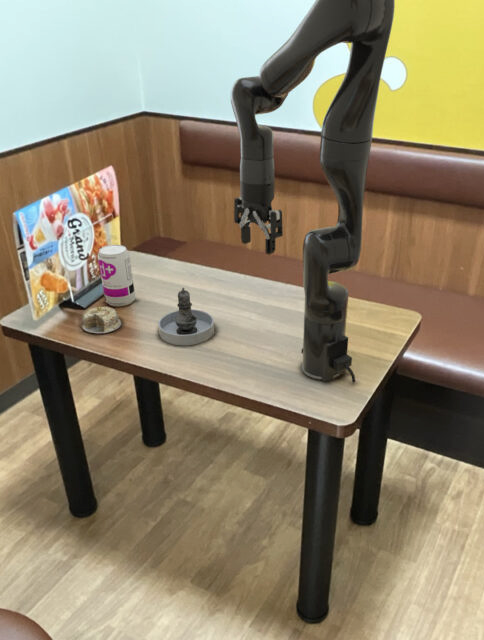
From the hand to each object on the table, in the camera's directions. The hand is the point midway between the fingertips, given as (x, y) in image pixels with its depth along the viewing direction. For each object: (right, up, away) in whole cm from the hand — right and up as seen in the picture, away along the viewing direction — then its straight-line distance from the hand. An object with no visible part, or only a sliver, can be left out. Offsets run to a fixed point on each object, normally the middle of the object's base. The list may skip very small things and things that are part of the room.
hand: (258, 248), depth 142 cm
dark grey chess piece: (-18, -19, +12) cm, 29 cm away
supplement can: (-39, -9, +26) cm, 48 cm away
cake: (-41, -17, +15) cm, 46 cm away
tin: (-18, -19, +12) cm, 29 cm away
